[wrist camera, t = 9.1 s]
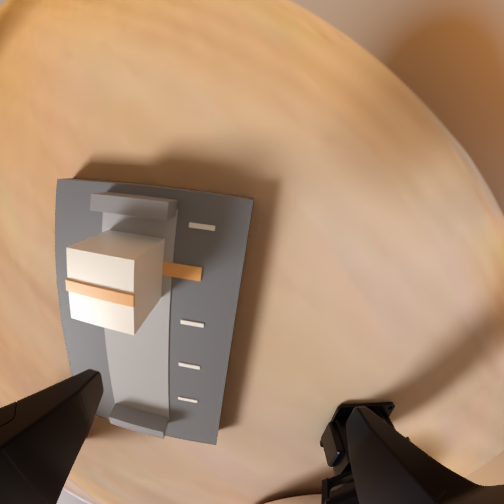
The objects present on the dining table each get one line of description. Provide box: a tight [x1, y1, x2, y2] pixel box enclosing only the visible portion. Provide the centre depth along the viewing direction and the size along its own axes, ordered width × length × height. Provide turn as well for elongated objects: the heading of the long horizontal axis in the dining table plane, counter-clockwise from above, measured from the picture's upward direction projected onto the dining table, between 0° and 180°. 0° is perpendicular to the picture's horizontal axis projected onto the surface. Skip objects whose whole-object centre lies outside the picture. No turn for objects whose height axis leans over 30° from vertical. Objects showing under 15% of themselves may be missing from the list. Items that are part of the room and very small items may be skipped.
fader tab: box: [65, 230, 165, 335], centre depth 15 cm, size 4×4×5 cm
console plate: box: [55, 178, 253, 445], centre depth 19 cm, size 14×22×4 cm, turn 171°
